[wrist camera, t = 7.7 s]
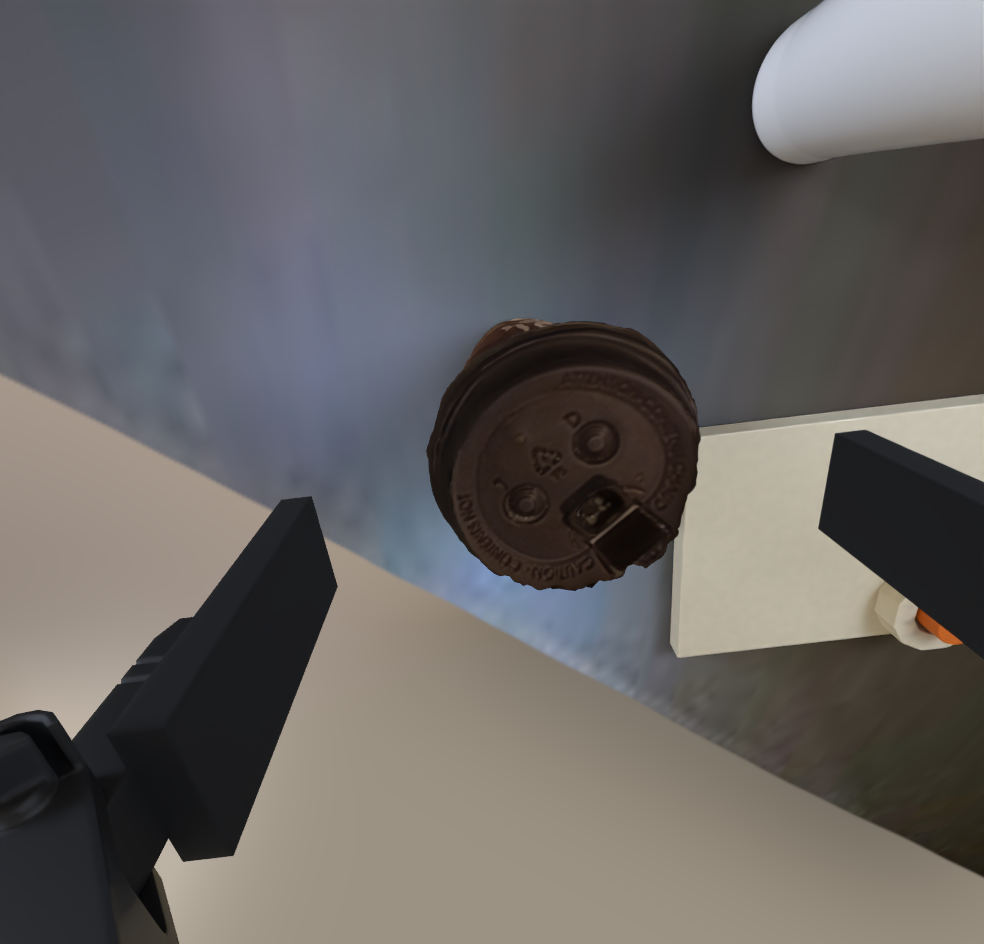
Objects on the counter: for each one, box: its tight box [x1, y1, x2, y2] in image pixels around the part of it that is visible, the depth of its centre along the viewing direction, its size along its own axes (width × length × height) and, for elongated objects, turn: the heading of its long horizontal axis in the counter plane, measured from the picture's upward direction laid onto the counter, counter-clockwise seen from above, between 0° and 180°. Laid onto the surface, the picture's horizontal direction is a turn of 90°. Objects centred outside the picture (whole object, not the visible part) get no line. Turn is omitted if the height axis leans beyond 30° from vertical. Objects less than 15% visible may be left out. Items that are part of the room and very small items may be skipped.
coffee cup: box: [426, 318, 701, 591], centre depth 20 cm, size 9×8×13 cm
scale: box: [670, 394, 984, 658], centre depth 29 cm, size 18×15×3 cm
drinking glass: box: [752, 0, 984, 164], centre depth 14 cm, size 7×7×15 cm
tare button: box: [916, 608, 963, 645], centre depth 29 cm, size 3×3×2 cm
